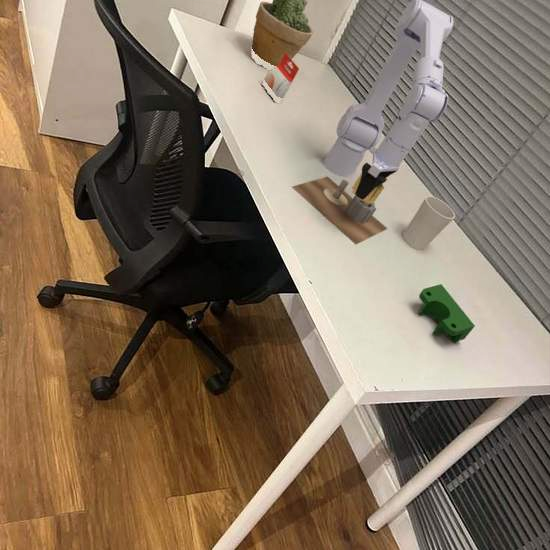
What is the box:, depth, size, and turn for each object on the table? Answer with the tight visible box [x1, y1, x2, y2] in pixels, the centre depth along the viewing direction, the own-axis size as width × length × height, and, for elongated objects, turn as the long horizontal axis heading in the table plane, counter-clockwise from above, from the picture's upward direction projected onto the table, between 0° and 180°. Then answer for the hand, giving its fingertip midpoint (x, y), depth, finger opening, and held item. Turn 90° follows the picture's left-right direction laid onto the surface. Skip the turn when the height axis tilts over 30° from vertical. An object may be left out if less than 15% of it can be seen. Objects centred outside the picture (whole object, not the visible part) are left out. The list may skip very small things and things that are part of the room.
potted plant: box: [251, 0, 314, 66], centre depth 173 cm, size 18×19×25 cm
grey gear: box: [346, 195, 377, 224], centre depth 128 cm, size 6×6×4 cm
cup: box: [401, 195, 456, 252], centre depth 130 cm, size 8×8×12 cm
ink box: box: [263, 53, 300, 99], centre depth 159 cm, size 3×9×12 cm, turn 28°
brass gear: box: [351, 172, 385, 204], centre depth 119 cm, size 6×6×4 cm
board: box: [291, 176, 388, 245], centre depth 127 cm, size 16×20×6 cm
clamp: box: [417, 283, 476, 343], centre depth 111 cm, size 12×6×9 cm, turn 23°
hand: (364, 192), depth 120 cm, fingers closed on brass gear, 6 cm apart
